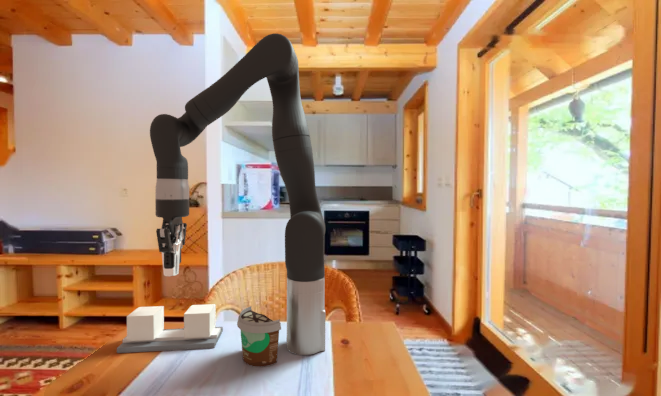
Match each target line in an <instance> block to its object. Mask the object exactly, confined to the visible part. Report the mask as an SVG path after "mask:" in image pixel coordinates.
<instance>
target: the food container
mask: <svg viewBox="0 0 661 396" xmlns="http://www.w3.org/2000/svg"><path fill="white" fill-rule="evenodd" d="M236 323H237V324H236V325H237V328H238V329H239V330H240V340H241V350H242V351H241V352H242V361H243V363H244V364H246V365H248V366H250V367H256V368H257V367H259V368H260V367H262V368H263V367H267V366H272V365H274V364H276V363H278V351H279V337H280V330H282V324H281V320H280V319H276V320H272V319H270V317H268V316H267V315H266V314H263V313H258V312H256V311H254V310H252V305H251V306H248V307H246V308H244V309H242V310H241V311H240V313H239V315H238V318H237V322H236Z"/></svg>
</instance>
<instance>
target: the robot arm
mask: <svg viewBox="0 0 661 396" xmlns="http://www.w3.org/2000/svg"><path fill="white" fill-rule="evenodd" d="M295 51H296V50H295V49H294V46H293V44H292V41H290V39H289V38H288V37H287V36H286V35H284V34H281V33H270V34H268V35H264V36H263V37H262V38H261V39H260V40H259V41H258V42H257V43H256V44H255V45H254V46H252V47H251V49H250V50H249V51H248V52H247V53H246V54H245V55H244V56H243V57H241V59H240V60H239V61H237V62H236V63H235V64H234V66H232V67H230V69H229V70H227V72H226V73H225V74H224V75H222V76H221V77H220V78H218V79H217V80H215V82H214V83H211V84H210V85H209V87H207V88H205V89H204V90H202V91H201V92H199V93H198V94H196V95H195V96H193V97H192V98H191V99H190V100H188V101H187V102H186V103H185V105H184V111H185V112H184V113H183V114H182V115H181V116H180V117H176V116H174V115H172V114H168V113H161V114H158V115H156V116H155V117H154V118H153V120H152V122H151V123H150V127H149V137H150V141H151V147H152V150H153V154H154V157H155V160H156V183H155V189H154V190H155V193H154V194H155V204H154V205H155V216H156V217H157V218H162V223H161V228H156V232H155V233H156V237H157V239H156V241H157V246H158V251H159V252H158V253H161V254H162V253H164V268H165V269H172V268H174V267H175V253H174V252H175V244H176V243H177V242H178V239H179V240H180V237H181V235H182V238H181V240H180V241H181V247H180V259H179V265H180V264H181V263H182V249H183V246H185V244H186V238H187V237H186V235H187V228H188V227H187V226H188V224H187V222H183V218H185V217H189V216H190V185H189V163H188V159H187V158H186V157H185V156H183V154H182V152H181V151H182V150H181V147H185V146H187V145H189V144H191V143H193V142H194V141H195V140H196V139H197V138H198V137H199V136H200V135H201V134H202V133H203V132H204V130H205V129H207V127H208V126H210V125H211V124H212V123H214V122H215V121H217V120H218V119H220V118H221V117H222V116H225V114H227V113H229V111H230V110H232V109H233V108H234V106H235V105H236V104H237V103H238V101H239V100H240V99H241V98H242V96H243V95H245V93H246V92H247V91H248V90H249V89H250V88H252V87H253V85H255V84H256V83H258V82H260V81H261V80H264V79H265V78H266V80H267V83H268V88H269V92H270V95H271V100H272V121H271V137H272V143H273V150H274V157H275V161H276V165H277V167H278V170H279V173H280V176H281V178H282V182H283V184H284V187H285V189H286V192H287V196H288V203H289V211H290V212H289V213H290V214H289V215H290V218H289V219H288V221H287V223H286V225H285V229H284V261H285V263H284V264H285V268H286V269H285V270H286V349H287V350H288V352H289V353H292V354H295V355H299V356H310V355H313V354H317V353H319V352H323V351H324V352H325V351H326V309H325V279H326V278H325V270H326V268H325V234H326V223H325V220H324V216H323V213H322V210H321V206H320V202H319V199H318V194H317V189H316V188H317V187H316V176H315V175H316V174H315V173H316V172H315V164H314V163H315V162H314V154H313V147H312V140H311V135H310V131H309V130H310V129H309V125H308V122H307V121H308V120H307V117H306V113H305V111H304V110H305V109H304V107H303V103H302V98H301V89H300V88H301V87H300V73H299V71H300V70H299V68H300V67H299V60H298V56H297V53H296V52H295ZM171 239H173V240H171ZM162 243H163V244H162ZM166 244H167V247H166ZM171 244H172V245H171Z"/></svg>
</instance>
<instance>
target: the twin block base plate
mask: <svg viewBox="0 0 661 396" xmlns="http://www.w3.org/2000/svg"><path fill="white" fill-rule="evenodd" d="M216 311H217V310H216V304H215V303H213V304H210V303H209V304H192V305H191V306H189V308H188V309H187V310H186V311H185V312H184V313H183V328H169V329H168V328H167V329H165V323H164V322H165V306H164V305H158V306H154V305H152V306H139V307H137V308H135V309H134V310H133V311H132V312H131V313H129V314H128V315H126V336H125V337H123V339H122V343H120V345H118V346H117V347H116V353H117V354H126V353H128V354H129V353H143V352H147V353H148V352H161V351H162V352H163V351H164V352H165V351H179V350H182V351H183V350H199V349H215V347H216V346H217V345H218V342H219V339H220V338H221V336H222V333H223V330H224V328H223V327H224V326H216V323H217V321H216V318H217V317H216V315H217V313H216Z"/></svg>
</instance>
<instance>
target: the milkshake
mask: <svg viewBox="0 0 661 396" xmlns="http://www.w3.org/2000/svg"><path fill="white" fill-rule="evenodd" d="M179 237H180V236H179ZM181 238H182V235H181V237H180V240H181ZM171 240H173V239H171ZM180 240H179V239H178V242H177V243H176V244H175V252H174V253H175V267H174V268H172V269H165V268H164V253H162V252H161V259H162V262H161V263H162V270H163V276H164V277H174V276H177V275H179V273H180V264H179V259H180V247H181V241H180ZM162 244H163V243H162ZM171 245H172V244H171ZM166 247H167V244H166Z"/></svg>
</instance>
